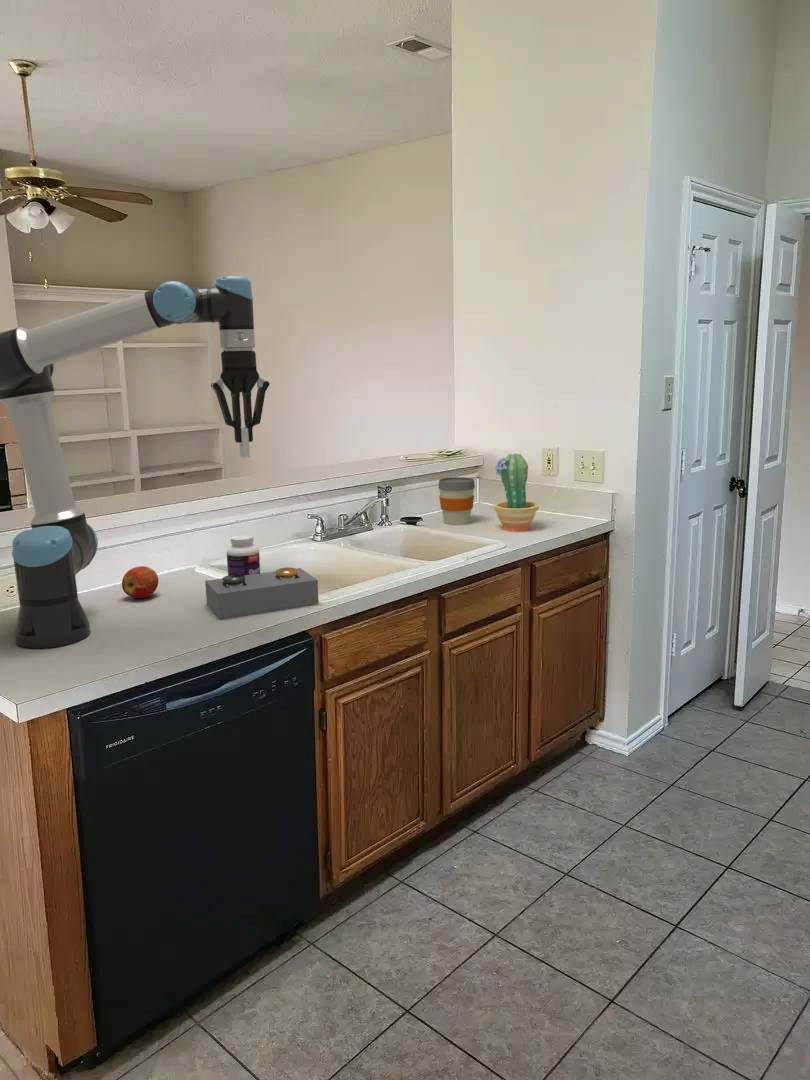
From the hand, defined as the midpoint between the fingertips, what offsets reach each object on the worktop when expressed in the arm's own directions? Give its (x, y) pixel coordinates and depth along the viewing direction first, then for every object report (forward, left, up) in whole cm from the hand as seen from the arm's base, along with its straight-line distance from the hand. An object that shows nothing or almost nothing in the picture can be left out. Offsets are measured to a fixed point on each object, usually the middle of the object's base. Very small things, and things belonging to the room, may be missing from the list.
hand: (245, 456), depth 190 cm
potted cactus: (+102, +46, -37) cm, 118 cm away
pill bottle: (+2, +16, -37) cm, 40 cm away
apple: (-22, +25, -37) cm, 49 cm away
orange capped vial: (+9, +4, -36) cm, 38 cm away
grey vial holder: (+3, +4, -36) cm, 37 cm away
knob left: (-3, +4, -36) cm, 37 cm away
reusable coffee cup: (+90, +65, -37) cm, 117 cm away
